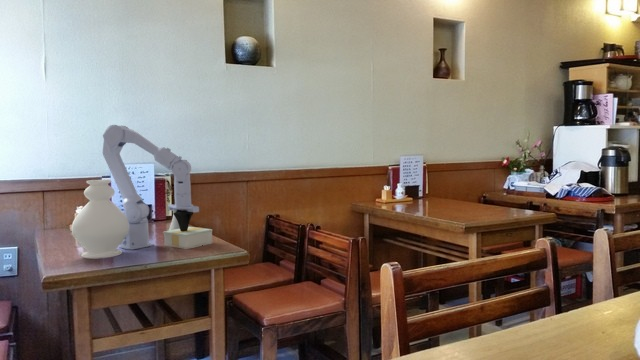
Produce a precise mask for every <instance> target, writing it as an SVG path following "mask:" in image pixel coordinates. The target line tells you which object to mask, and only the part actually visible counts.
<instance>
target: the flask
mask: <svg viewBox="0 0 640 360" xmlns="http://www.w3.org/2000/svg"><path fill="white" fill-rule="evenodd" d="M171 211H172V214H173V215H172V219H171V223H170V226H169V228H168V231H169V230H175V229H180V227H179V224H178V221H177V219H176V217H175V216H174V212H176V210H171Z"/></svg>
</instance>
